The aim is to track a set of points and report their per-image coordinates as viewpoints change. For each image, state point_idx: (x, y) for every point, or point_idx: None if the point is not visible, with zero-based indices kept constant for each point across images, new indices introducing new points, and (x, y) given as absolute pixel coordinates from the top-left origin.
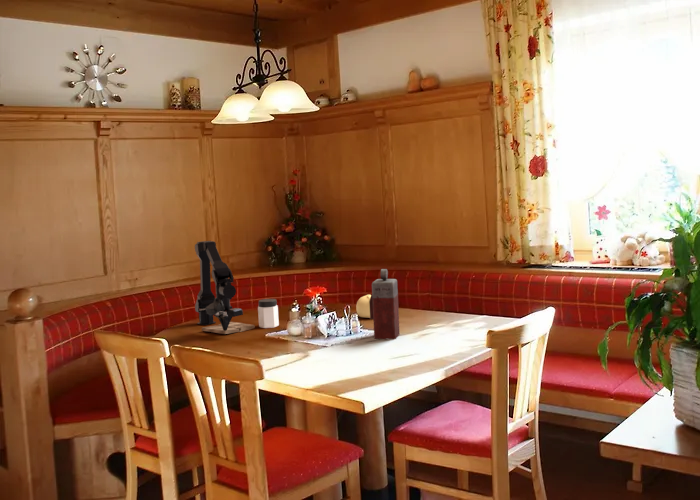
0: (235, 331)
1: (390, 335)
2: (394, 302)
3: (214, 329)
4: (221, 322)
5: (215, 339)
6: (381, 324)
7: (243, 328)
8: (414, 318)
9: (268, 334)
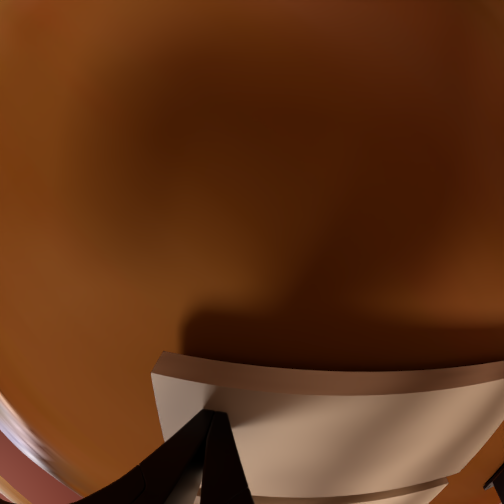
0: None
1: None
2: None
3: (390, 402)
4: (214, 496)
5: (127, 136)
6: None
7: None
8: (13, 497)
9: (6, 406)
